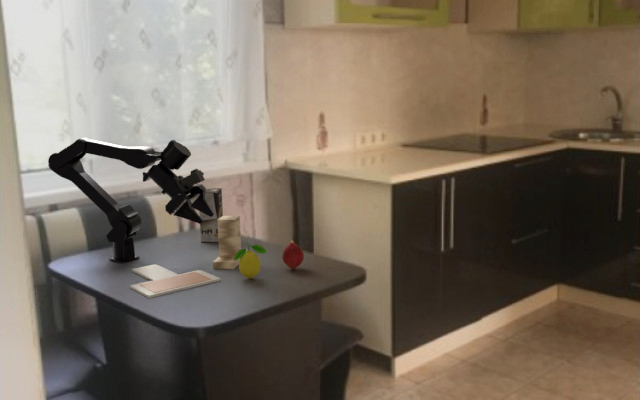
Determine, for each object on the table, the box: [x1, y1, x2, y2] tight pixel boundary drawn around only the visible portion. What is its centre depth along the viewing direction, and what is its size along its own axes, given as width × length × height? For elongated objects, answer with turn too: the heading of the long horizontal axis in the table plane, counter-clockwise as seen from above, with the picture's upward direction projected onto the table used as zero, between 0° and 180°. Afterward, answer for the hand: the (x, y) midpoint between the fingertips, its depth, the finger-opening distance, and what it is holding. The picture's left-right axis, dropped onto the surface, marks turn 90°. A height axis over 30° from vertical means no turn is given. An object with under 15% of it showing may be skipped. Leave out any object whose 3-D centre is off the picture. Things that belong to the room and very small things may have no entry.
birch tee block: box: [212, 215, 249, 270], centre depth 191 cm, size 6×14×13 cm, turn 170°
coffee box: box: [198, 187, 224, 243], centre depth 219 cm, size 9×6×16 cm
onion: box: [281, 240, 305, 270], centre depth 182 cm, size 6×6×8 cm
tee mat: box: [129, 263, 221, 299], centre depth 178 cm, size 25×20×1 cm
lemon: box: [234, 241, 268, 280], centre depth 174 cm, size 7×6×10 cm
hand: (207, 219), depth 191 cm, fingers open, 9 cm apart
